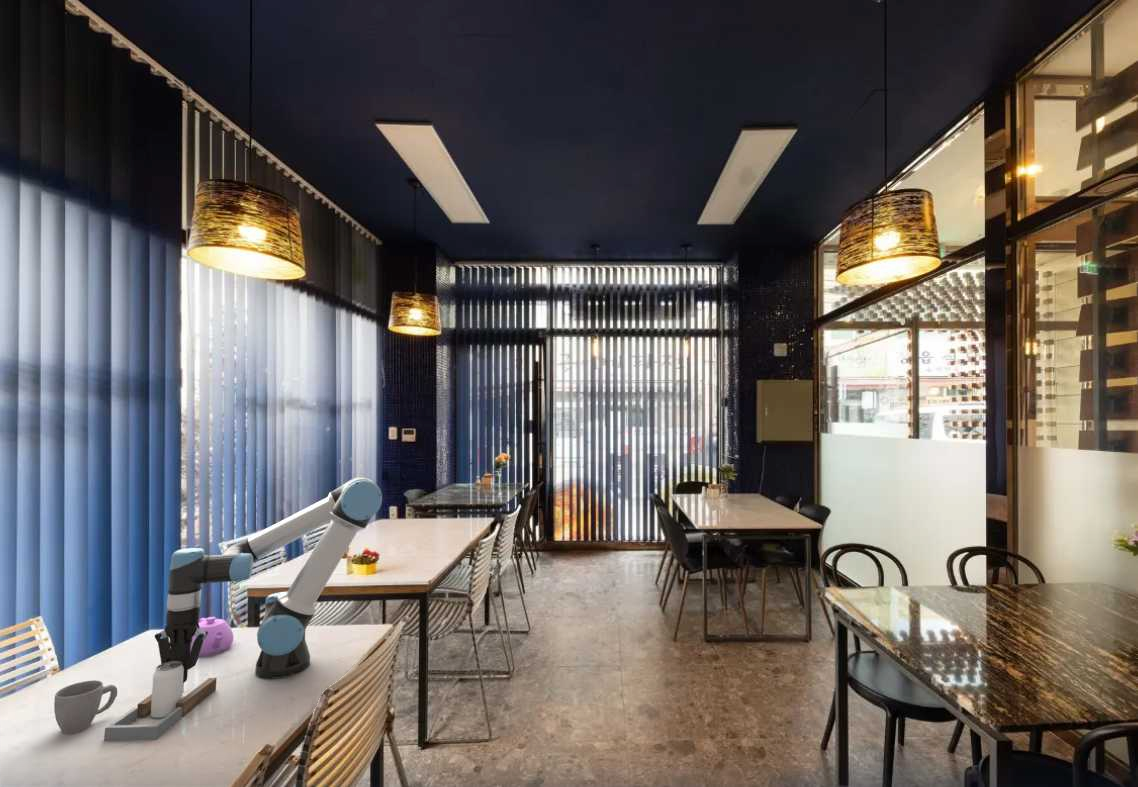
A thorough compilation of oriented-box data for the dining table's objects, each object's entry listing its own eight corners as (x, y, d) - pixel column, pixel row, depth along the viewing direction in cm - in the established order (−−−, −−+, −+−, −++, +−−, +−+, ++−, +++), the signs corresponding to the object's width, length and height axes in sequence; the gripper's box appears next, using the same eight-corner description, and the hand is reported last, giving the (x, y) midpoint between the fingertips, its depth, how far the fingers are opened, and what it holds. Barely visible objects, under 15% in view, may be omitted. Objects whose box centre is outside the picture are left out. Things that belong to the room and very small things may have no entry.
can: (165, 720, 134) (168, 672, 135) (143, 717, 135) (147, 669, 136) (187, 707, 140) (190, 661, 141) (167, 704, 142) (170, 659, 142)
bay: (181, 719, 135) (182, 707, 135) (156, 739, 126) (157, 726, 126) (132, 720, 134) (133, 708, 134) (103, 740, 125) (104, 727, 125)
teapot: (194, 666, 165) (196, 631, 166) (176, 648, 178) (178, 616, 178) (243, 652, 175) (245, 619, 176) (223, 636, 188) (224, 606, 189)
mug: (57, 743, 124) (60, 701, 125) (47, 731, 129) (50, 690, 129) (121, 720, 134) (124, 681, 135) (109, 709, 139) (112, 672, 139)
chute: (215, 690, 150) (216, 677, 150) (183, 717, 136) (184, 703, 136) (173, 691, 149) (174, 678, 149) (136, 718, 135) (137, 703, 135)
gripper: (216, 602, 148) (210, 688, 147) (169, 601, 148) (162, 688, 146) (199, 611, 141) (192, 702, 139) (149, 611, 140) (141, 702, 138)
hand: (176, 695), depth 142 cm, fingers closed
